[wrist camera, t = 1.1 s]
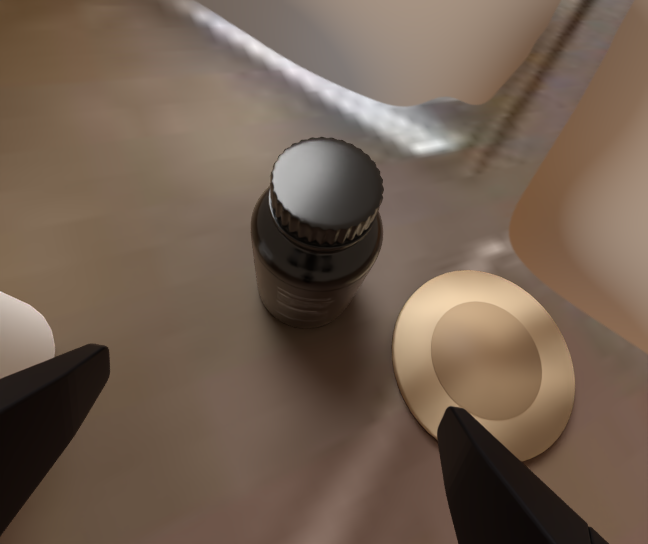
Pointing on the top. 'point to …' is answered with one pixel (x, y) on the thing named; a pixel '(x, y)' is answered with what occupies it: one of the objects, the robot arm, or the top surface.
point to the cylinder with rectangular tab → (22, 336)
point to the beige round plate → (484, 360)
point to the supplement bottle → (316, 230)
